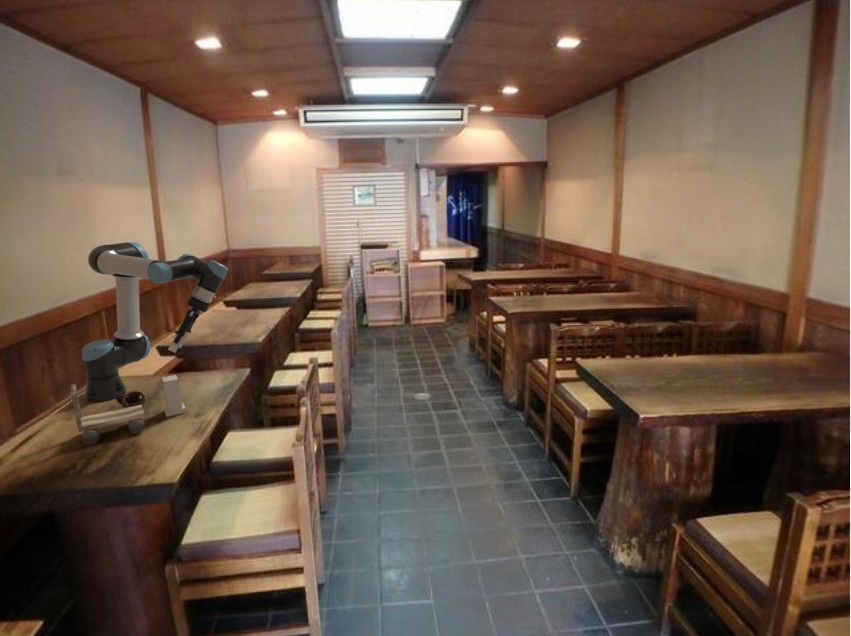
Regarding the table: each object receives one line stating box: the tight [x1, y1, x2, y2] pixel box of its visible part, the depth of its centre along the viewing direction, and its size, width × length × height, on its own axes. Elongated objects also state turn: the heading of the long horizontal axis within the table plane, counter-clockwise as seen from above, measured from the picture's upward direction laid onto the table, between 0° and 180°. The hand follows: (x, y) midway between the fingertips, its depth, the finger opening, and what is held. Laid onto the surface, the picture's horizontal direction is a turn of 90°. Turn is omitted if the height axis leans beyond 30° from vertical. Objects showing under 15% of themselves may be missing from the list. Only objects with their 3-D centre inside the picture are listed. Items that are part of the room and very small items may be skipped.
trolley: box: [69, 383, 146, 446], centre depth 186 cm, size 13×20×19 cm, turn 123°
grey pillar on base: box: [161, 374, 187, 418], centre depth 203 cm, size 7×7×14 cm
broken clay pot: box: [115, 390, 148, 408], centre depth 208 cm, size 12×10×8 cm
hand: (174, 348), depth 199 cm, fingers open, 13 cm apart
